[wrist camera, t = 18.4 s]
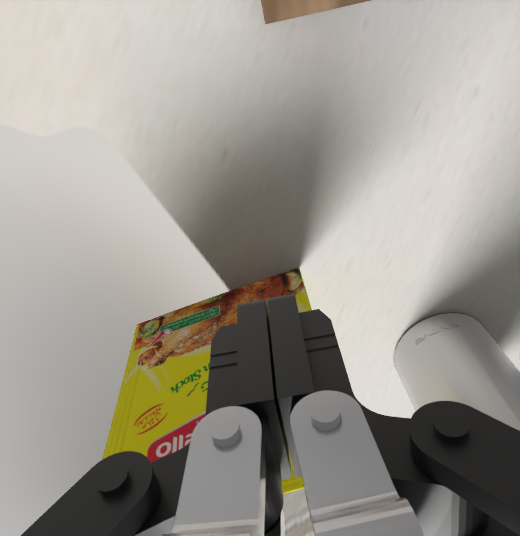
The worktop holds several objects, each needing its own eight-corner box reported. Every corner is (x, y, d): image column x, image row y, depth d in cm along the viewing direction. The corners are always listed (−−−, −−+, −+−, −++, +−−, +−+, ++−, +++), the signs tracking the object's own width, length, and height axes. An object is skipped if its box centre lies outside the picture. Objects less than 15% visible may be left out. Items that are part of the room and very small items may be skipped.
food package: (297, 263, 40) (356, 465, 22) (301, 273, 40) (362, 479, 23) (134, 320, 41) (71, 550, 24) (140, 330, 42) (83, 561, 25)
